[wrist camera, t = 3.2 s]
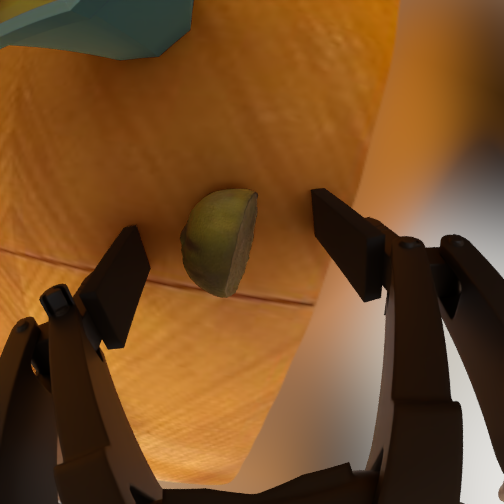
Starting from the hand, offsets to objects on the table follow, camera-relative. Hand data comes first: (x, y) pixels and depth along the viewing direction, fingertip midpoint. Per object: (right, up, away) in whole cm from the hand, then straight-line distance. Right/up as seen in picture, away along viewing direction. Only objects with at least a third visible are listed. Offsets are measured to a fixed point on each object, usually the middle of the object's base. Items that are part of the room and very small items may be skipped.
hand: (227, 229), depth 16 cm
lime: (0, 0, 0) cm, 1 cm away
